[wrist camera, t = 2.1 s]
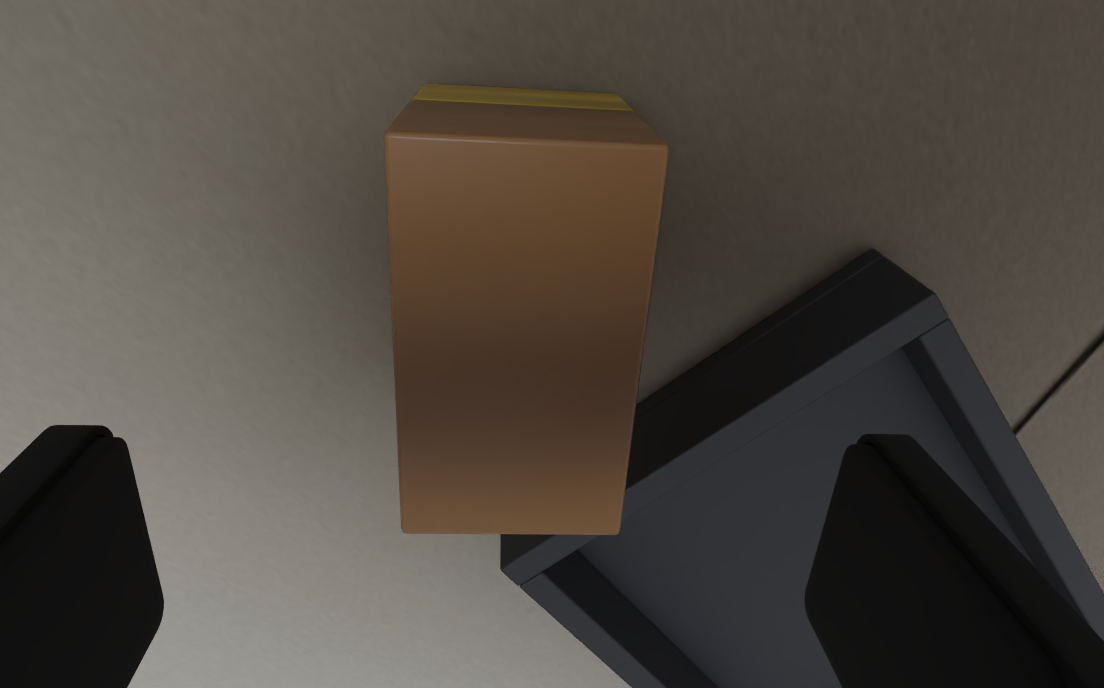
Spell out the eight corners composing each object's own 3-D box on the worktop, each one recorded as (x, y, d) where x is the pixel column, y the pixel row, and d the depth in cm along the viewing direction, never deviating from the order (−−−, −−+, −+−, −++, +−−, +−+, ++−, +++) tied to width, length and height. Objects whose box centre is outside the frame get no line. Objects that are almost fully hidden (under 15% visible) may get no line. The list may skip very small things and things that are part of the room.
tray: (500, 495, 22) (499, 570, 19) (873, 246, 19) (936, 292, 16) (806, 789, 29) (837, 873, 27) (1106, 644, 26) (1177, 722, 24)
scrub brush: (422, 82, 16) (382, 131, 11) (618, 93, 17) (670, 145, 11) (428, 386, 20) (400, 535, 15) (589, 390, 20) (620, 536, 15)
